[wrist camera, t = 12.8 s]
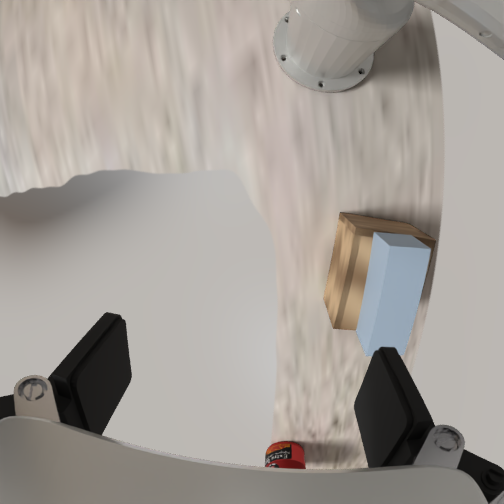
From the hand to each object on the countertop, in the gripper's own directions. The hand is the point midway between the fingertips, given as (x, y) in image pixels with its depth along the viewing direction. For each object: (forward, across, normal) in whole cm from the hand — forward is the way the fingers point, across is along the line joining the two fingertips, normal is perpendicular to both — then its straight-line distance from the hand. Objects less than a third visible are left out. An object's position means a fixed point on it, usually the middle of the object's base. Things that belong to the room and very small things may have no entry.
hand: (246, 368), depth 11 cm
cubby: (+30, -14, +5) cm, 34 cm away
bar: (+22, -14, +5) cm, 27 cm away
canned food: (+31, -10, +46) cm, 56 cm away
